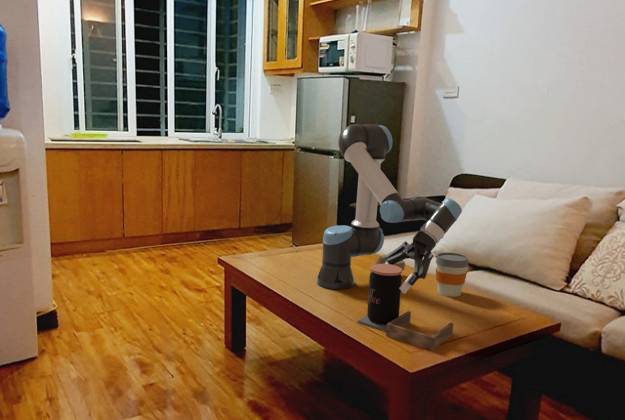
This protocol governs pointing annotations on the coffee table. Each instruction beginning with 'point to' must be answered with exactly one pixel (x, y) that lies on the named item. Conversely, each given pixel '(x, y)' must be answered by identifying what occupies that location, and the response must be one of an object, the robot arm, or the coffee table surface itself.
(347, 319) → the coffee table surface
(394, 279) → the coffee jar
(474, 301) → the coffee table surface
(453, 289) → the reusable coffee cup
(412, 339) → the walnut holder
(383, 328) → the charcoal mat
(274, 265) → the coffee table surface
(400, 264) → the low-poly potato
